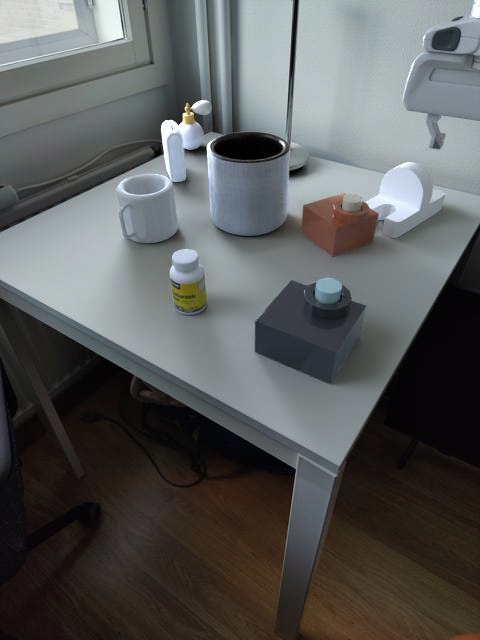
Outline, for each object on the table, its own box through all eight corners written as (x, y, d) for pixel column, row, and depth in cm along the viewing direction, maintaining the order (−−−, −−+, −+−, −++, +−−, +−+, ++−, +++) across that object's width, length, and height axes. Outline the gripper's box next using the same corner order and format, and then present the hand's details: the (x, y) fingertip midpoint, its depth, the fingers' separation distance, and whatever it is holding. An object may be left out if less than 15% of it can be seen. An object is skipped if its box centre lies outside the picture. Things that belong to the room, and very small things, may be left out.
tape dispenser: (355, 221, 96) (363, 171, 89) (404, 194, 105) (415, 146, 97) (394, 239, 90) (406, 187, 83) (443, 208, 99) (457, 159, 92)
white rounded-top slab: (164, 166, 118) (158, 116, 110) (181, 164, 119) (176, 114, 111) (170, 183, 110) (164, 131, 102) (188, 181, 111) (183, 129, 103)
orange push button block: (376, 244, 89) (384, 206, 84) (335, 259, 85) (341, 221, 80) (340, 220, 96) (345, 184, 91) (300, 233, 93) (303, 196, 87)
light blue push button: (344, 293, 66) (346, 282, 64) (334, 307, 63) (336, 296, 62) (321, 286, 67) (322, 274, 66) (310, 299, 65) (311, 287, 63)
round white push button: (364, 209, 84) (366, 199, 82) (350, 214, 83) (351, 204, 81) (352, 202, 86) (353, 192, 85) (338, 206, 85) (339, 196, 83)
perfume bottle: (172, 146, 128) (167, 100, 120) (203, 139, 132) (199, 94, 124) (185, 155, 123) (181, 108, 115) (216, 147, 127) (214, 101, 119)
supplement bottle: (168, 311, 75) (160, 261, 68) (183, 292, 79) (177, 243, 72) (198, 319, 73) (193, 269, 67) (212, 299, 77) (208, 249, 71)
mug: (146, 213, 100) (139, 168, 93) (188, 224, 96) (183, 178, 89) (105, 243, 91) (93, 196, 84) (149, 257, 87) (140, 208, 80)
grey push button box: (361, 334, 70) (370, 293, 65) (330, 384, 63) (337, 342, 58) (290, 308, 75) (293, 268, 70) (254, 352, 68) (254, 310, 62)
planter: (303, 221, 96) (309, 147, 86) (241, 248, 89) (240, 170, 78) (254, 194, 106) (255, 124, 95) (196, 216, 98) (189, 143, 88)
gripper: (617, 35, 50) (562, 160, 59) (426, 23, 59) (404, 134, 68) (614, 46, 46) (556, 179, 55) (410, 32, 55) (389, 148, 64)
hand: (471, 154), depth 62 cm, fingers open, 8 cm apart
